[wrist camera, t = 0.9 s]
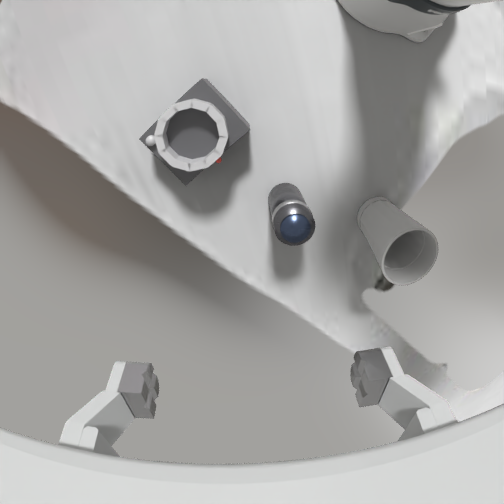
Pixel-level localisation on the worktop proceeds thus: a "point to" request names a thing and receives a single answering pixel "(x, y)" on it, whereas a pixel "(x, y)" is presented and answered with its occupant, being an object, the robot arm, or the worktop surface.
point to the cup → (397, 241)
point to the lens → (290, 215)
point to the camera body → (195, 131)
